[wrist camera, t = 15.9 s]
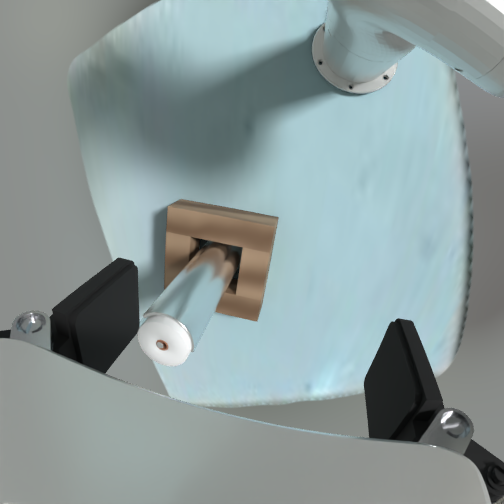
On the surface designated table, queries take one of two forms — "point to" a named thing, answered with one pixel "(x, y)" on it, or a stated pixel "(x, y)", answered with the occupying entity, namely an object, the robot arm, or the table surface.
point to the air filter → (188, 304)
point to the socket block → (228, 232)
